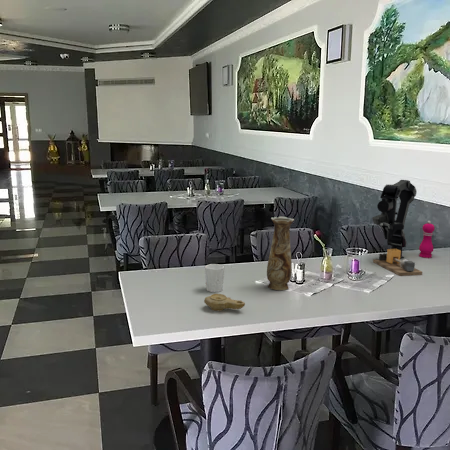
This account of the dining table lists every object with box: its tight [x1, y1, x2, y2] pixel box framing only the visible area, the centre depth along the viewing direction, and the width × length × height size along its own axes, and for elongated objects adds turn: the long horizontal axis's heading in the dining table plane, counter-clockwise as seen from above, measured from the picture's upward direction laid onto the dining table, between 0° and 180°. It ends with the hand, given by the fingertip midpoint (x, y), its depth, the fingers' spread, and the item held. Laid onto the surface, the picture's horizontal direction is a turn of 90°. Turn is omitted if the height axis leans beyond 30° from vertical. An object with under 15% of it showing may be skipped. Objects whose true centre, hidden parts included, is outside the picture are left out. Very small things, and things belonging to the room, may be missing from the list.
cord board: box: [372, 252, 423, 277], centre depth 239 cm, size 24×12×6 cm, turn 13°
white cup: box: [204, 263, 225, 293], centre depth 201 cm, size 8×8×10 cm
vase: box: [266, 215, 295, 291], centre depth 204 cm, size 10×11×30 cm
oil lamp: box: [203, 293, 246, 312], centre depth 180 cm, size 11×14×5 cm
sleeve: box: [386, 248, 401, 264], centre depth 242 cm, size 4×5×6 cm
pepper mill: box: [418, 220, 435, 259], centre depth 262 cm, size 7×7×20 cm
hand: (387, 239), depth 247 cm, fingers open, 2 cm apart
